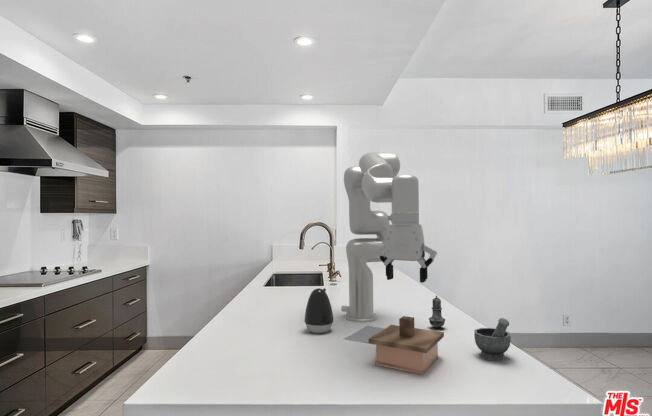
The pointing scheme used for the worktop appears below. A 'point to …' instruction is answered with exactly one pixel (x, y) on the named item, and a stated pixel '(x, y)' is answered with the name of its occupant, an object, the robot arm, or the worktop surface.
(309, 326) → the dark grey egg shape
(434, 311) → the dark stone chess piece
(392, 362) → the open terracotta box
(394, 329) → the walnut lid
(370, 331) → the rubber mat
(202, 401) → the worktop surface
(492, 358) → the mortar and pestle
